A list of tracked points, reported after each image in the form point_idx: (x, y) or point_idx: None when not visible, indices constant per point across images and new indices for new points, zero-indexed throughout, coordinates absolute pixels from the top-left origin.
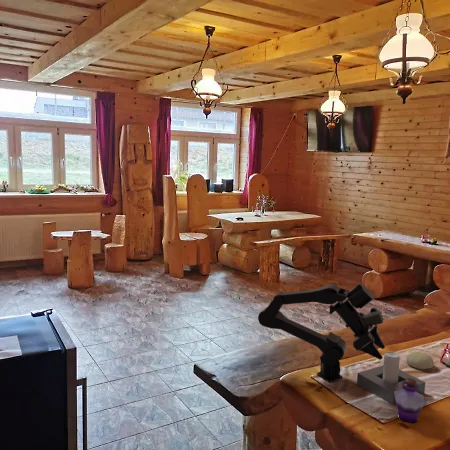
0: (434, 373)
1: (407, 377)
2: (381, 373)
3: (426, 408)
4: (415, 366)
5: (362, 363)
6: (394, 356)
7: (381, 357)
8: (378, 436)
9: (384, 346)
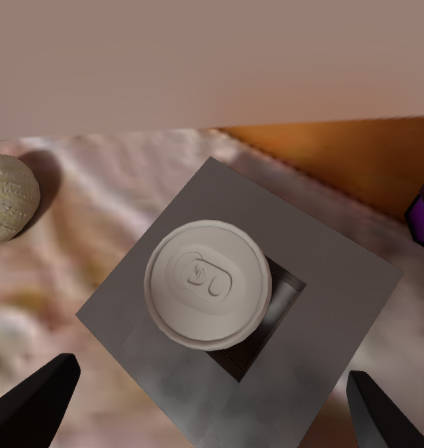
0: (59, 162)
1: (194, 221)
2: None
3: (323, 170)
4: (31, 213)
5: None
6: (231, 256)
7: (374, 387)
8: None
9: (64, 359)
